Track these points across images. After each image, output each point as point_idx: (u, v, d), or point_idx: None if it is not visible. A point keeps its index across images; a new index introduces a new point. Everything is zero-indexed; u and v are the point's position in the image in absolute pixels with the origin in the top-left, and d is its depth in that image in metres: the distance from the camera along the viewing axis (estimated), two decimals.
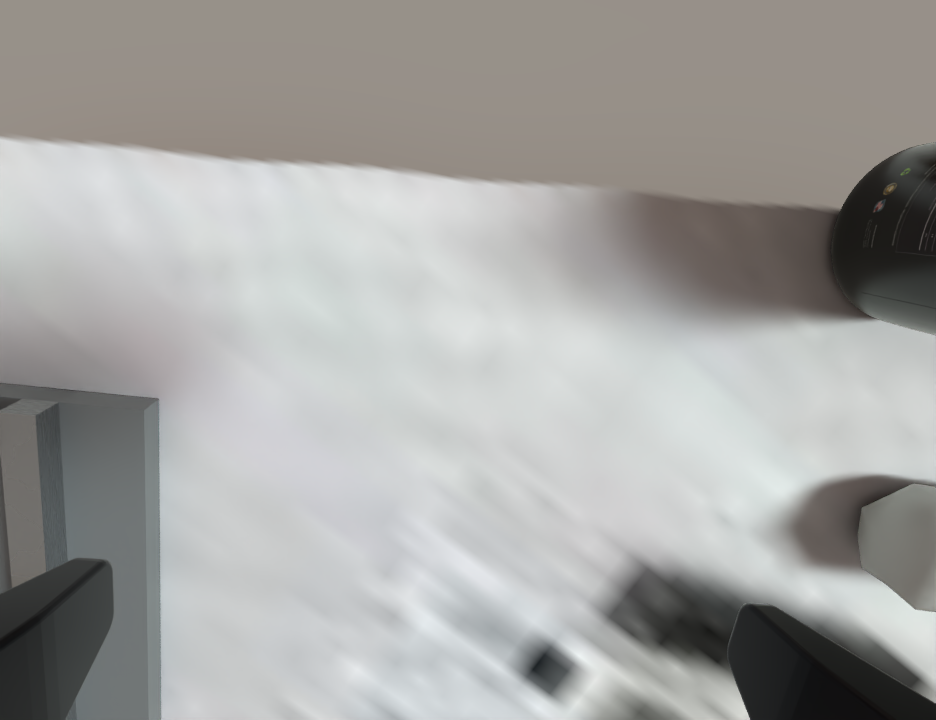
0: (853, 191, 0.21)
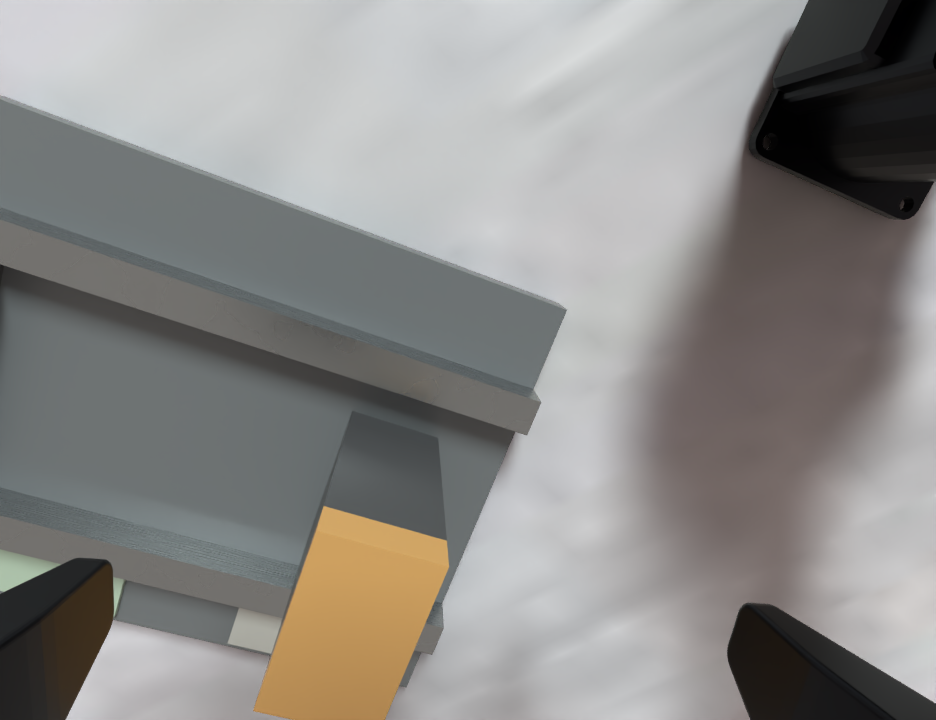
0: None
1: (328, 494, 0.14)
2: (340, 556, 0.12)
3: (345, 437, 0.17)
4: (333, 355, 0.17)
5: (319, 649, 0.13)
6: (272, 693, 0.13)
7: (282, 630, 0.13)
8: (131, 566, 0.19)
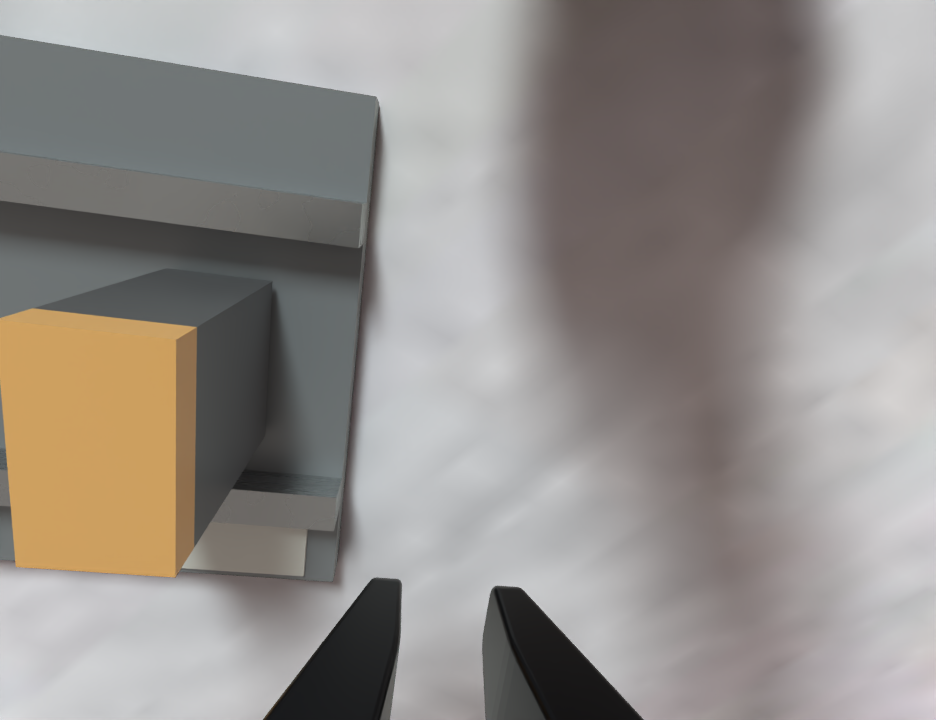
0: None
1: (51, 303, 0.11)
2: (38, 349, 0.10)
3: (132, 278, 0.15)
4: (106, 194, 0.15)
5: (61, 475, 0.11)
6: (29, 540, 0.11)
7: (9, 459, 0.11)
8: None
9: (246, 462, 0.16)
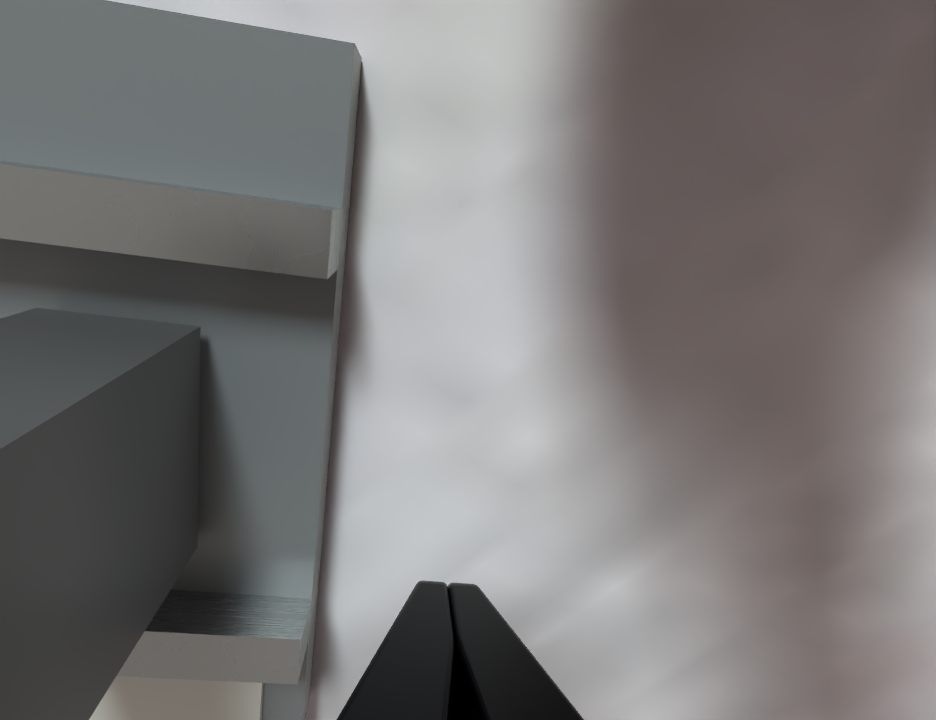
0: None
1: None
2: None
3: None
4: None
5: None
6: None
7: None
8: None
9: (156, 608, 0.11)
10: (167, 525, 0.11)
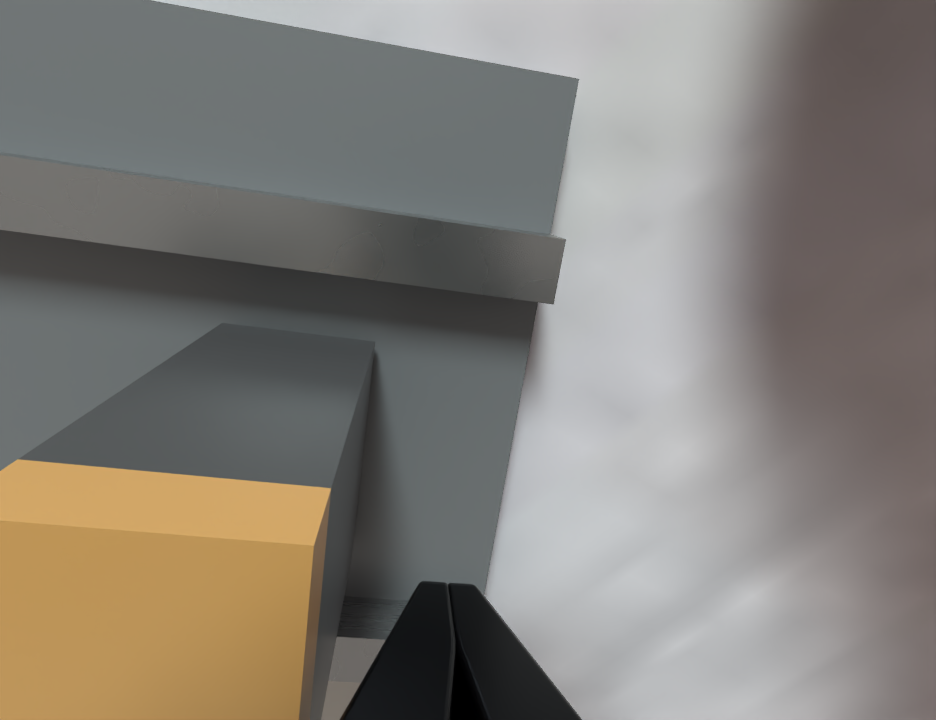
0: None
1: (55, 436, 0.06)
2: (27, 569, 0.05)
3: (180, 352, 0.09)
4: (185, 224, 0.10)
5: None
6: None
7: None
8: None
9: (340, 613, 0.11)
10: (350, 534, 0.11)
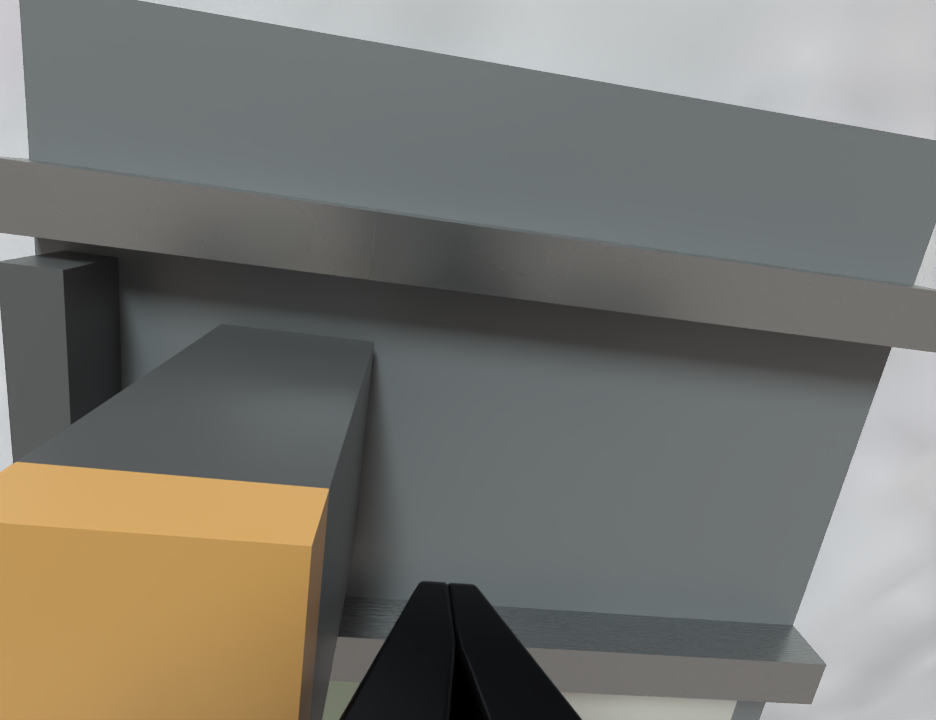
0: None
1: (53, 438, 0.06)
2: (25, 573, 0.05)
3: (179, 353, 0.09)
4: (642, 287, 0.11)
5: None
6: None
7: None
8: None
9: (341, 613, 0.11)
10: (350, 534, 0.11)
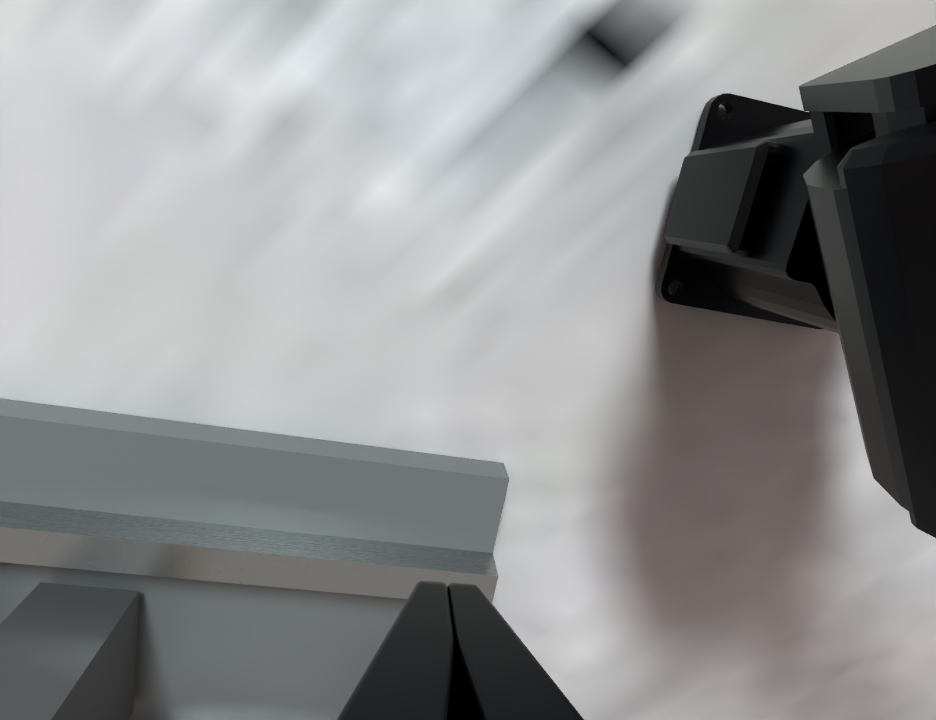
0: None
1: None
2: None
3: None
4: (292, 574, 0.18)
5: None
6: None
7: None
8: None
9: None
10: (112, 715, 0.18)
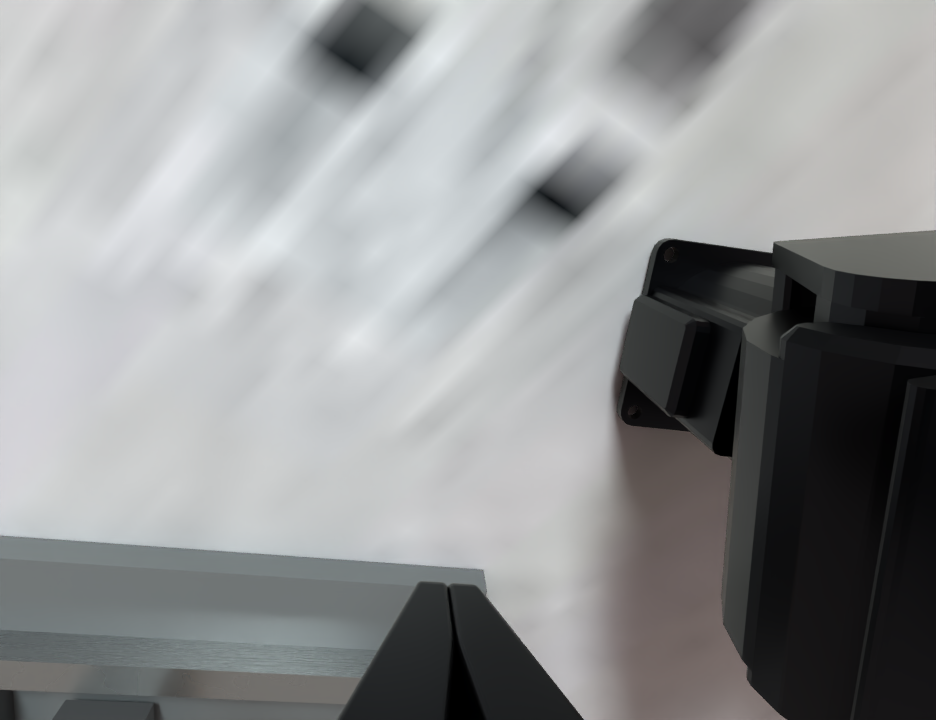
0: None
1: None
2: None
3: None
4: (289, 690, 0.20)
5: None
6: None
7: None
8: None
9: None
10: None
